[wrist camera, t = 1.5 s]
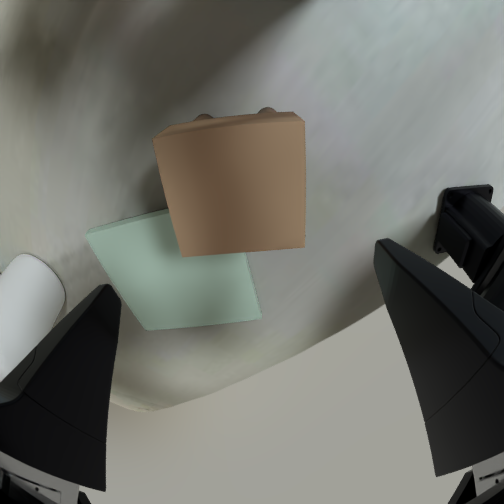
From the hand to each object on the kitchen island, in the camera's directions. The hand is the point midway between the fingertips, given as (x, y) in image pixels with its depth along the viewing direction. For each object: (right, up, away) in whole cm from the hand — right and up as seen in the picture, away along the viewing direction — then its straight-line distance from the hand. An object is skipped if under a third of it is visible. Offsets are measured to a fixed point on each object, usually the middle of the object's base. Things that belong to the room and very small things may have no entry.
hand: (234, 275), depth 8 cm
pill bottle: (-23, -2, +14) cm, 27 cm away
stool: (0, +7, +8) cm, 10 cm away
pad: (-6, -1, +14) cm, 15 cm away
